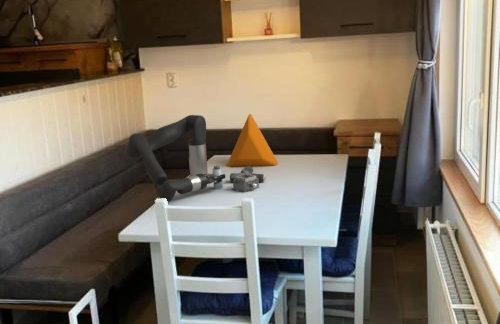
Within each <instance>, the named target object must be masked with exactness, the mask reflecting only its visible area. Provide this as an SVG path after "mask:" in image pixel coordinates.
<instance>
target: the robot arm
mask: <svg viewBox="0 0 500 324" xmlns="http://www.w3.org/2000/svg"><path fill="white" fill-rule="evenodd" d="M189 132H191V133H193V137H191V138H189V139H188V149H189V151H188V152H189V157H188V163H189V174H190V176H187V177H184V178H181V179H177V178H176V179H175V178H174V179H170V178H169V179H168V175H167V174H166V172H165V171H164V169H163V167H162V166H161V165H160V164H159V162H158V160H157V158H156V156H155V154H154V152H153V151H155V150H158V149H159V148H162V147H163V146H166V145H168V144H171V143H173V142H175V141H177V140H178V138H179V137H180V136H181V135H182V134H185V133H189ZM206 140H207V121H206V119H205V117H204V116H203V115H199V114H189V115H187V116H185V117H183V118H182V119H180V120H178V121H176V122H172V123H169V124H167V125H164V126H162V127H159V128H157V129H156V130H155V131H154V132H152V134H150V135H149V136H148V138H146V136H145V135H143V134H141V133H132V134H131V135H130V136H129V139H128V141H127V145H126V147H125V149H126V150H125V153H126V155H127V156H128V157H129V158H131V159H139V158H142V160H143V165H144V168H145V170H146V173H147V175H148V176H149V178H150V180H151V181H152V182H153V184H154V189H155V191H156V193H157V196H158V197H159V199H161V198H166V199H167V201H168V202H171V201H172V200H173V199H174V197H175V196H176V193H178V194H179V195H184V194H185V195H186V194H188V193H191V192H192V193H193V192H197V191H200V190H204V189H205V188H206V187H207V186H208V185H212V184H213V183H214V184H217V183H219V182H221V181H222V182H223V180H225V179H226V178H227V177H226V174H225V173H222V175H218V176H215V175H213V173H208V172H209V171H208V159H207V146H206V144H207V143H206ZM213 177H214V178H213ZM216 177H217V178H216ZM168 202H167V203H168Z"/></svg>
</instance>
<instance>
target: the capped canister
mask: <svg viewBox="0 0 500 324" xmlns="http://www.w3.org/2000/svg"><path fill="white" fill-rule="evenodd" d="M211 171H212V174H213V175H215V176H218V175H222V174H223V171H222V167H220V165H214V166H213V168H212V170H211ZM213 178H214V177H213ZM216 178H217V177H216ZM212 185H213V189H214V190H222V189H223V188H224V187H223V186H224V183H223V180H222V181H221V182H219V183H217V184H214V183H212ZM221 188H222V189H221Z"/></svg>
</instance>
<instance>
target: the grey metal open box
mask: <svg viewBox="0 0 500 324" xmlns="http://www.w3.org/2000/svg"><path fill="white" fill-rule="evenodd" d="M232 188H233V191H236V192H241V193H247V192H251V191H253V190H256V189H259V188H260V182H259V178H256V175H251V174H242V175H239V176H236V177H235V180H233V183H232Z"/></svg>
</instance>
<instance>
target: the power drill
mask: <svg viewBox="0 0 500 324" xmlns="http://www.w3.org/2000/svg"><path fill="white" fill-rule="evenodd" d="M242 174H251V175H256V178H259V183H263V182H265V181H266V180H267V177H266V175H265V174H263V173H256V172H255V173H254V167H253V166H244V167H243V168H242V169H241V171H240V172H231V173H230V174H229V182H230V183H232V184H233V180H235V177H236V176H239V175H242Z"/></svg>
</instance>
